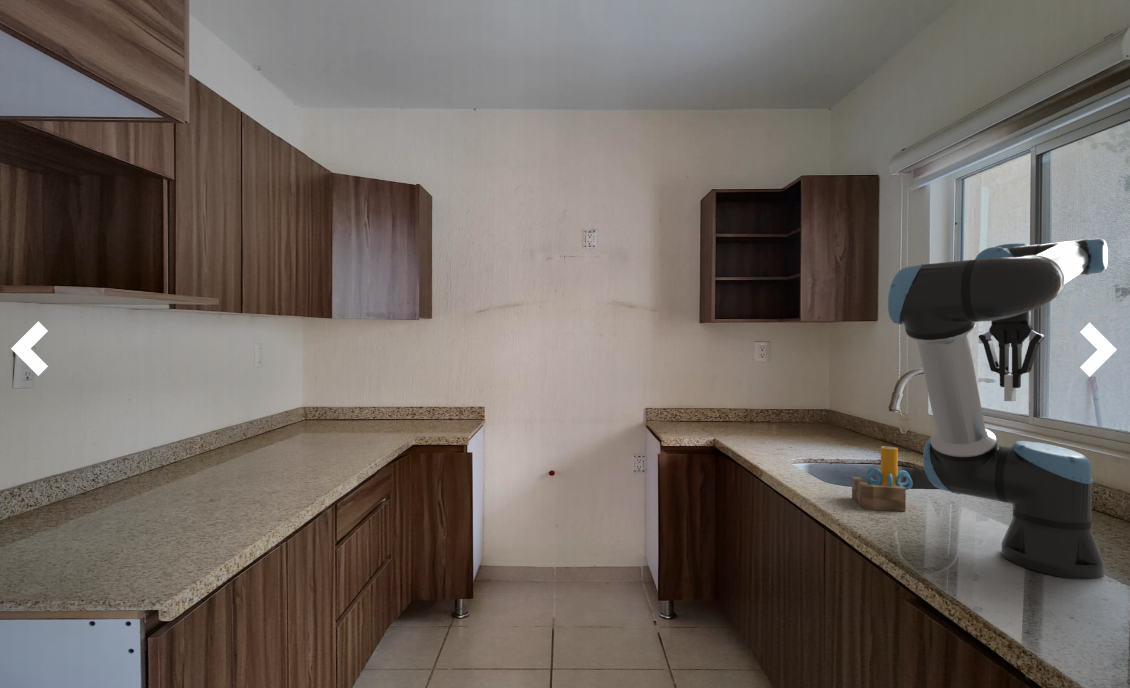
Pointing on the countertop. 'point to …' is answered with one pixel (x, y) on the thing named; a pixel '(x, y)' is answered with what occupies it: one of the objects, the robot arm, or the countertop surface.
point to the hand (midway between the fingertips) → (1010, 400)
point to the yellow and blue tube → (889, 470)
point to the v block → (878, 496)
